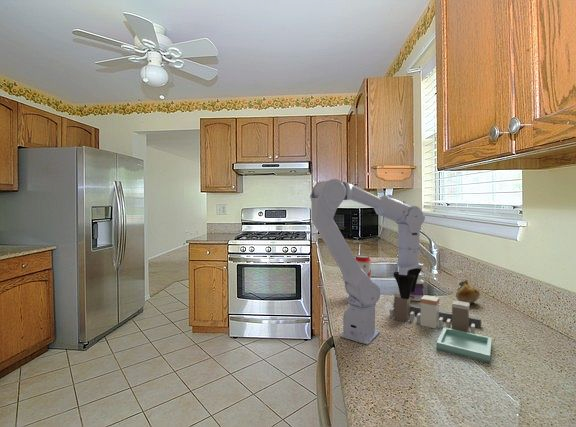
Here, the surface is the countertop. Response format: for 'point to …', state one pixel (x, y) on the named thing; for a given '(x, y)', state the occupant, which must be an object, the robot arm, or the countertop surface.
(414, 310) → the clip block
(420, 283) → the pill bottle
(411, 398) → the countertop surface
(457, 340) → the tray
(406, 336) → the countertop surface
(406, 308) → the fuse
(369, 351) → the countertop surface
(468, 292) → the onion
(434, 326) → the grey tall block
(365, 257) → the beer can
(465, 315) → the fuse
